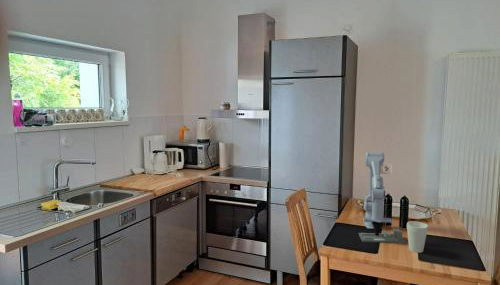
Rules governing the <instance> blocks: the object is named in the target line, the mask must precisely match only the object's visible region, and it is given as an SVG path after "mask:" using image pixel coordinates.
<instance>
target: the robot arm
mask: <svg viewBox="0 0 500 285" xmlns="http://www.w3.org/2000/svg"><path fill="white" fill-rule="evenodd" d="M364 162H365V167H367V168H368V170H369V191H368V192H369V194H368V195H367V196H365V197H364V202H363V210H364V211H365V215H364V217H363V218H362V221H363V225H364V226H365V227H366V229H370V230H371V229H373V231H374V233H375V235H376V236H379V233H380V232H381V231H382V228H383V227H384V225H385V224H384V223H390V224H392V223H393V219H392V218H391V217H384V210H385V206H384V205H385V200H386V189H385V186H384V178H383V177H382V176H381V167H382V166H383V165H384V162H385V154H384V152H383V151H382V152H378V151H376V152H375V151H373V152H372V151H371V152H370V151H366V152H365V161H364Z"/></svg>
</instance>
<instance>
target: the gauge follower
mask: <svg viewBox="0 0 500 285" xmlns="http://www.w3.org/2000/svg"><path fill="white" fill-rule="evenodd" d="M381 233H382V236H383V237H390V234H391V233H389V232H388V230H387V231H386V230H381Z"/></svg>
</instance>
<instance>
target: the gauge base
mask: <svg viewBox="0 0 500 285" xmlns="http://www.w3.org/2000/svg"><path fill="white" fill-rule="evenodd" d="M358 234H359V235H358V237H359V238H360V240H361V242H362V243H381V244H382V243H383V244H387V243H391V244H392V243H394V244H407V240H406V239H405V238H404V237H403V234H404V233H403V231H401V229H400V228H392V233H389V234H390V237H383V236H382V232H381V233H379V236H376V235H375V232H374V233H372V232H371V233H369V232H368V233H367V232H358Z"/></svg>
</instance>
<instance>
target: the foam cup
mask: <svg viewBox="0 0 500 285" xmlns="http://www.w3.org/2000/svg"><path fill="white" fill-rule="evenodd" d="M406 230H407V241H408V250H409V251H411V252H414V253H417V254H419V253H423V252H424V248H425V243H426V240H427V235H428V232H429V225H428V224H427V223H424V222H421V221H416V220H414V221H408V222H406Z"/></svg>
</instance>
